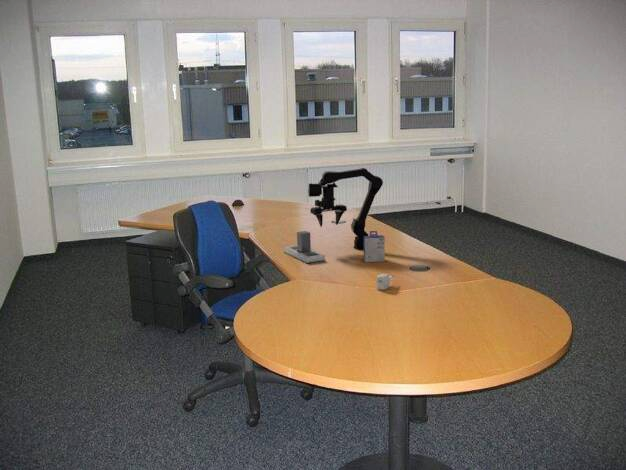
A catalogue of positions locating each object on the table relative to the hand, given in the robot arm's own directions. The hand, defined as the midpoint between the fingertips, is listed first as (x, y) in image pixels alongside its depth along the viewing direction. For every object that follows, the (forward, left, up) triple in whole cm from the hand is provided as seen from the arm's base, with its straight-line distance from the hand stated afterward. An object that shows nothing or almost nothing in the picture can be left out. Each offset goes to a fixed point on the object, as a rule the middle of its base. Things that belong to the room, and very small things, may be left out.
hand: (328, 225), depth 318 cm
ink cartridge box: (-8, +31, -13) cm, 35 cm away
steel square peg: (+18, +6, -12) cm, 22 cm away
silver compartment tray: (+18, +6, -13) cm, 23 cm away
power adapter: (+11, +69, -13) cm, 71 cm away
